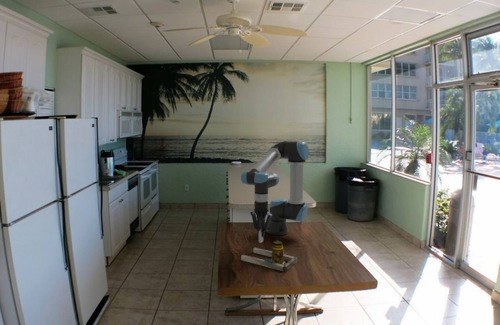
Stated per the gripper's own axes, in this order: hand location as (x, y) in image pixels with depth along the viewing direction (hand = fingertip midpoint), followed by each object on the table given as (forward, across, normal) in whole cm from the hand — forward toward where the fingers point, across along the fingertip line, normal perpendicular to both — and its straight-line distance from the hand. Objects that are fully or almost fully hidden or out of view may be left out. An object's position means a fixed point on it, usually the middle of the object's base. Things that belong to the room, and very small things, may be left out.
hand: (261, 241), depth 179 cm
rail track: (+10, +6, -1) cm, 11 cm away
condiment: (+10, +10, -1) cm, 14 cm away
